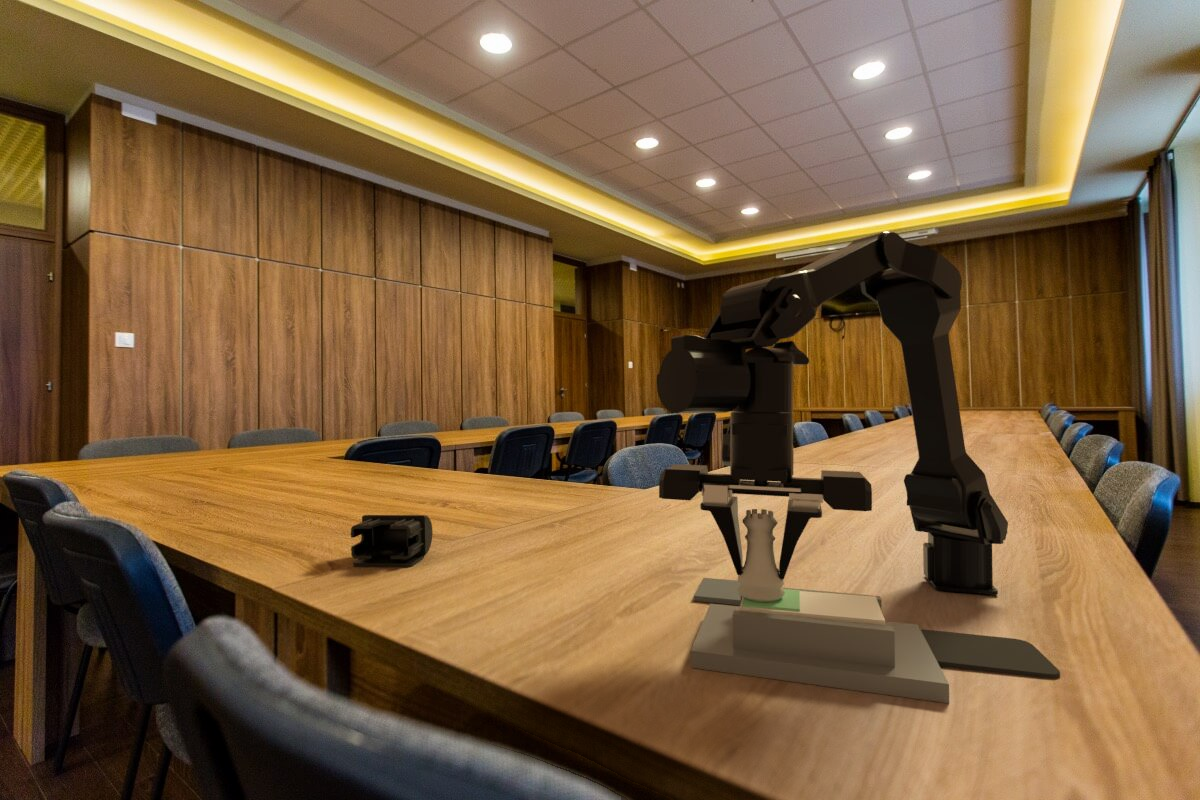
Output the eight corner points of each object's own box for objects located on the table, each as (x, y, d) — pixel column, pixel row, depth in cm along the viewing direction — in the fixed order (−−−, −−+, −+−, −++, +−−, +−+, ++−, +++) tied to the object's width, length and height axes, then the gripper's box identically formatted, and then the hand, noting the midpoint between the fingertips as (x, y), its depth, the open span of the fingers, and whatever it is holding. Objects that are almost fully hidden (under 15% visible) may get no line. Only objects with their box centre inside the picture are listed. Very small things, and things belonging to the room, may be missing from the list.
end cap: (433, 554, 89) (432, 511, 89) (414, 568, 82) (413, 521, 82) (372, 553, 90) (372, 511, 90) (348, 567, 83) (347, 521, 83)
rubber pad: (759, 587, 71) (759, 582, 71) (755, 607, 65) (755, 601, 65) (703, 582, 74) (703, 577, 74) (694, 600, 67) (694, 595, 67)
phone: (1066, 676, 47) (868, 653, 52) (1066, 686, 47) (868, 662, 52) (1027, 639, 54) (856, 622, 59) (1027, 648, 54) (856, 630, 59)
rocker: (876, 612, 54) (875, 594, 54) (885, 638, 48) (885, 618, 48) (745, 601, 58) (745, 584, 58) (740, 624, 52) (739, 605, 52)
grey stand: (917, 640, 55) (917, 593, 55) (949, 703, 44) (948, 645, 44) (710, 617, 62) (709, 576, 62) (691, 667, 51) (690, 616, 51)
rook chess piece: (791, 603, 52) (790, 516, 52) (742, 603, 52) (741, 516, 52) (777, 587, 57) (776, 506, 57) (732, 587, 57) (731, 507, 57)
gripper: (859, 411, 59) (859, 562, 59) (680, 410, 65) (680, 546, 65) (873, 414, 48) (872, 598, 48) (658, 412, 55) (657, 575, 55)
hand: (760, 576), depth 54 cm, fingers closed on rook chess piece, 3 cm apart
